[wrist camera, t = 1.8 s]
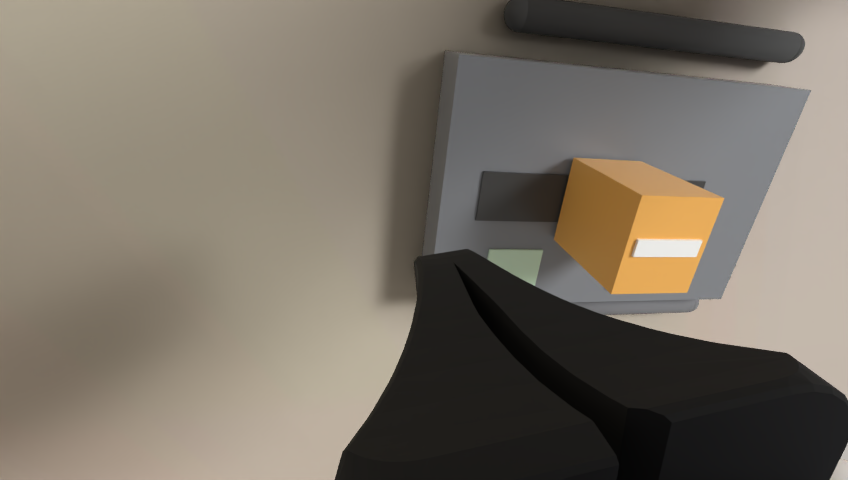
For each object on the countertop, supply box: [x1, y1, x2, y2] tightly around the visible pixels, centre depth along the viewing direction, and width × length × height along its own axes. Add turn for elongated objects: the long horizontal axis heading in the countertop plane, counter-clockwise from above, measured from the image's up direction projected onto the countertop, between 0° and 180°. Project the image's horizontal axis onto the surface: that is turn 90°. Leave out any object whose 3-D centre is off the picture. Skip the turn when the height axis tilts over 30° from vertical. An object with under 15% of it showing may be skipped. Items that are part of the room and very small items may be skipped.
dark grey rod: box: [504, 0, 805, 63], centre depth 18 cm, size 13×1×1 cm, turn 84°
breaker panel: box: [422, 51, 811, 302], centre depth 20 cm, size 15×10×2 cm, turn 84°
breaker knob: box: [554, 158, 724, 294], centre depth 17 cm, size 3×4×4 cm
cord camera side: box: [570, 299, 699, 315], centre depth 23 cm, size 13×1×1 cm, turn 84°
